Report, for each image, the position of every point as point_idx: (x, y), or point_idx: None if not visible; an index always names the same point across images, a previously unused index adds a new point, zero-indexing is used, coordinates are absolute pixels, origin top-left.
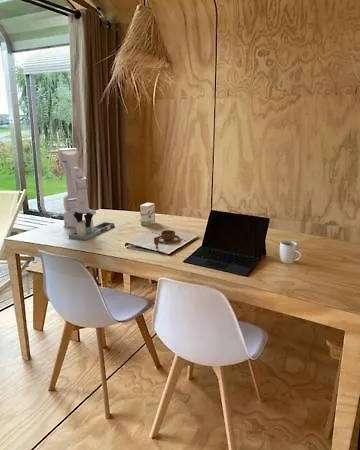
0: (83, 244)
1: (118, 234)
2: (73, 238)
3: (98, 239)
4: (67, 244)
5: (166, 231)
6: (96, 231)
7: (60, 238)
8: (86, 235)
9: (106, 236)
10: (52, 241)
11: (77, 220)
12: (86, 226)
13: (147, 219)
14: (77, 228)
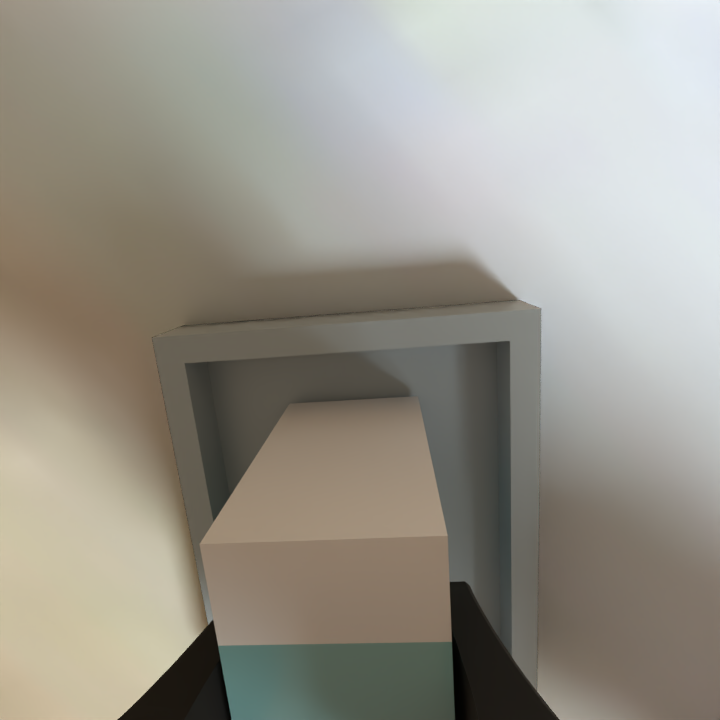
0: (68, 156)
1: (7, 687)
2: (425, 309)
3: (63, 441)
4: (305, 18)
5: None
6: (208, 620)
7: (662, 228)
8: None
9: (72, 578)
10: (701, 14)
11: (519, 708)
12: None
13: None
14: (398, 459)
